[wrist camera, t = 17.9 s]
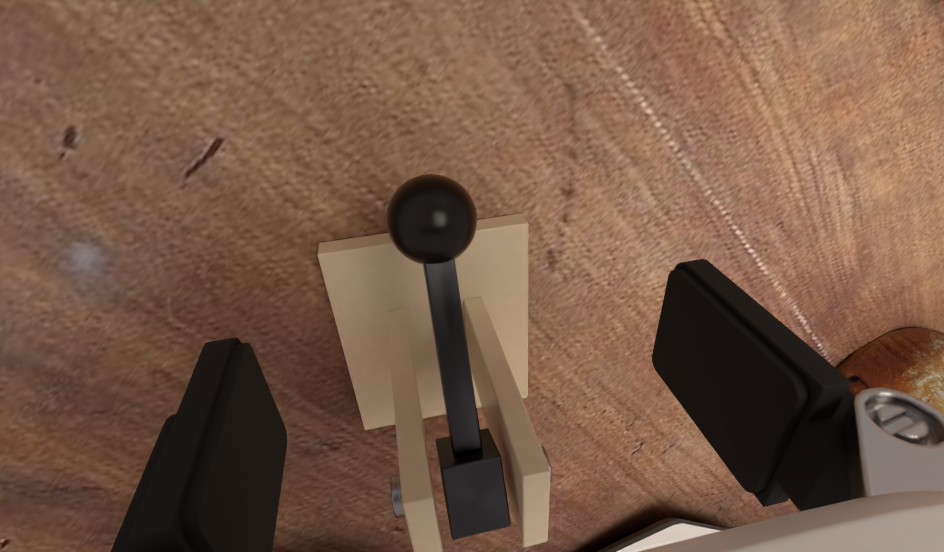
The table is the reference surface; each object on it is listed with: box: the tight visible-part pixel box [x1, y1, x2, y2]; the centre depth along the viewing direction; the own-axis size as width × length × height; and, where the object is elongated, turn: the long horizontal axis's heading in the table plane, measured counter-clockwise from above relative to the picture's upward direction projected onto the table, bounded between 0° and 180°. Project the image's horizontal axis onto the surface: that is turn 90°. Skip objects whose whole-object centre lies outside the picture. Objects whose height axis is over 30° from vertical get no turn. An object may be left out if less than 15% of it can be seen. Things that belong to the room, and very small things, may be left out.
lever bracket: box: [318, 214, 552, 552], centre depth 22 cm, size 12×10×12 cm
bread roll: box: [837, 327, 944, 415], centre depth 36 cm, size 10×10×8 cm
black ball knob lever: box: [386, 174, 511, 539], centre depth 18 cm, size 13×3×3 cm, turn 4°
